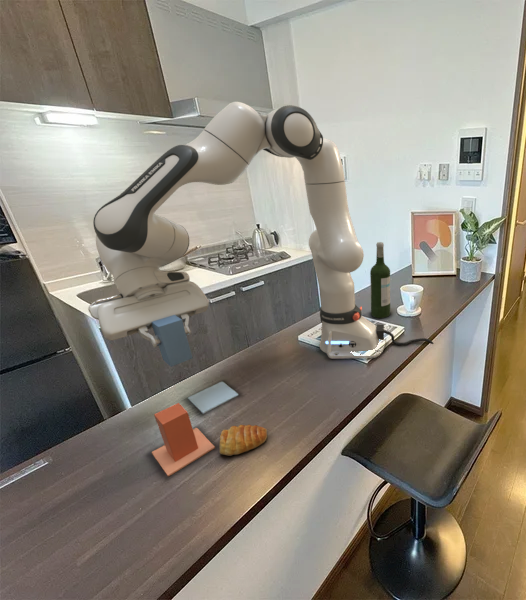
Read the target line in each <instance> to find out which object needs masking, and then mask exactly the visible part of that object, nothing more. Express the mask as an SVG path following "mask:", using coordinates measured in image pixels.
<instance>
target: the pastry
mask: <svg viewBox="0 0 526 600" xmlns="http://www.w3.org/2000/svg"><path fill="white" fill-rule="evenodd" d="M267 438H268V434H267V428H264V427H263V426H260V425H259V426H258V425H257V424H255V425H252V424H247V425H245V424H239V425H238V426H237V425H231V426H230V428H228V429H222V430H221V433H220V436H219V454H220V455H224V456H230V457H231V456H233V455H241V454H243V453H245V452H249V451H250V450H253V449H257V448H258V447H260V446H261V445H262V444H264V443H265V441H267Z"/></svg>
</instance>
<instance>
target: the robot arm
mask: <svg viewBox="0 0 526 600" xmlns="http://www.w3.org/2000/svg"><path fill="white" fill-rule="evenodd" d="M261 151H264V152H267V153H269V154H270V155H273V156H275V157H279V158H287V159H288V158H289V159H291V158H295V159H296V160H297V161H298V163H299V164H300V166H301V169H302V172H303V179H304V186H305V191H306V197H307V204H308V211H309V214H310V216H311V218H312V221H313V224H314V226H315V230H313V231H312V232H311V234H310V235H309V237H308V247H309V250H310V254H311V256H312V262H313V266H314V270H315V275H316V278H317V283H318V289H319V299H320V300H319V301H320V307H319V318H320V323H321V335H320V341H319V345H318V346H319V349H320V351H322V352H323V353H325V354H326V355H327V357H328V358H329V359H333V360H334V359H337V360H338V359H339V360H340V359H342V360H343V359H375V358H377V357H379V356H380V355H381V354H382V353H383V351H384V350H385V348H386V344H385V345H384V346H383V347H382V348H381V349H379V350H375V352H376V353H375V354H374V356H354V355H353V354H352V353H350V352H351V351H352V352H354V351H355V352H356V351H368V350H373V349H375V348H376V347H377V345H378V343H379V339H380V340H384V338H385V334H386V335H388V336H390V338H391V342H392V343H393V344H394V345H396V346H407V345H410V344H412V343H417V342H427V343H429V344H430V345H434V342H433V341H432V340H431V339H429V338H426V337H425V338H424V337H421V338H413V339H409V340H408V341H404V342H399V341H397V340H395V336H394V334H393V333H392V332H391V331H388V330H385V325H384V324H382V323H380V324H377V323H376V324H375V323H373V322H372V321H370V320H369V319H367V318H366V317H364V316H363V315H362V310H363V307H362V305H361V306H360V307H359V306H357V304H356V293H355V282H354V280H353V277H352V275H351V273H353V272H355V271H357V270H358V269H359V268H360V267H361V265H362V264H363V262H364V256H365V254H364V249H363V248H362V245H361V244H360V242H359V240H358V237H357V233H356V230H355V226H354V223H353V220H352V217H351V213H350V209H349V203H348V195H347V194H348V193H347V187H346V178H345V172H344V167H343V166H344V165H343V162H342V159H341V155H340V150H339V148H338V146H337V144H336V143H335V142H334V141H333V140H331V139H329V138H325V137H324V136H323V134H322V132H321V131H320V129H319V128H318V125H317V122H316V121H315V119H314V118H313V117H312V115H311V114H310V113H309V112H308V111H307V110H306V109H304V108H302V107H300V106H297V105H292V104H291V105H290V104H287V105H283V106H280V107H278V108H275V109H273V110H272V111H270V112H268V113H266V114H264V115H263V114H261V113H259V112H258V111H257V110H256V109H254V108H253V107H252V106H250V105H248V104H247V103H244V102H241V101H232V102H230V103H228V104H227V105H226V106H224V107H223V108H222V109H221V110H220V111H219V112H217V114H216V115H214V116H213V117H212V119H211V120H210V121H209V122H208V123H207V125H205V127H204V128H203V129H202V130H201V132H200V133H199V135H197V136H196V137H195V138H194V139H192V140H191V141H189V142H188V143H186V144H177V145H175V146H173V147H171V148H169V149H168V150H167V151H166V152H164V153H163V154H162V155H161V156H160V157H158V158H157V159H156V160H155V161H154V162H153V163H152V164H151V165H150V166H149V167H148V168H147V169H145V170H144V172H143V173H142V174H140V175H139V177H137V178H136V179H135V180H134V181H133V182H132V183H131V184H130V185H129V186H128V187H127V188H126V189H124V191H122V192H121V193H120V194H119V195H117V196H115V197H114V198H113V199H111V200H109V201H107V202H106V203H105V204H103V205H102V206H100V208H99V209H98V210H97V211H96V212H95V214H94V216H93V229H94V232H95V245H96V250H97V252H98V255H99V257H100V259H101V261H102V264H103V265H104V267H105V269H106V270H107V271H108V272H109V274H111V275H112V277H113V283H114V286H115V287H116V289H117V291H118V292H119V294H115V295H111V296H108V297H104V298H97V299H95V300H94V301H93V302H92V303H90V304H89V306H88V308H87V309H88V313H89V314H90V316H91V317H92V318H93V319H95V320H98V323H99V324H98V325H99V328H100V331H101V333H102V335H103V338H104V339H105V340H108V341H111V342H113V341H117V340H120V339H123V338H127V337H129V336H132V335H136V334H138V335H139V337H140V338H142V339H144V340H146V341H148V342H150V343H151V345H152V347H153V348H156V347H159V345H161V340H160V339H159V336H158V335H157V336H155V335H153V334H151V333H149V330H151V329H153V327H152V322H153V321H156V320H159V319H162V318H166V317H169V316H172V315H176V316H177V317H179V318H180V319H182V322H183V326H184V329H185V333H186V336H187V337H188V336H190V335H191V334H192V331H191V329H190V327H189V321H190V317H192V316H195V315H199V314H202V313H205V312H207V310H208V308H209V306H210V301H209V299H208V297H207V295H206V294H205V292H204V291H203V290H202V288H201V287H200V286H199V285H198V284H197V283H195V282H194V281H190V275H189V273H187V272H186V271H167V270H161V269H160V268H161V267H164V266H167V265H170V264H171V263H174V262H176V261H177V260H179V259H182V257H183V256H185V254H186V253H187V252H188V250H189V248H190V236H189V233H188V231H187V229H186V228H185V227H184V226H183V225H181V224H179V223H177V222H174V221H173V220H170V219H168V218H166V217H163V216H160V215H158V214H157V213H155V212H156V211H157V210H159V208H160V207H162V205H163V204H164V203H166V202H167V200H168V199H169V198H170V197H171V196H172V195H173V194H174V193H175V192H176V191H177V190H178V189H179V188H181V187H183V186H184V185H188V184H191V183H203V184H210V185H213V186H214V185H216V186H226V185H231V184H233V183H234V182H236V181H237V180H238V179H239V178H241V176H242V175H243V174H244V173H245V171H246V170H247V168H248V167H249V165H250V164H251V163H252V162H253V160H254V158H255V157H256V156H257V155H258V154H259V153H260V152H261ZM360 355H361V354H360Z"/></svg>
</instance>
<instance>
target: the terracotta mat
mask: <svg viewBox="0 0 526 600" xmlns="http://www.w3.org/2000/svg"><path fill="white" fill-rule="evenodd" d="M193 432H194V435H195V438H196V442H197V445H198V449H196V450H195V451H193V452H191V453H190V454H188V455H186V456H184V457H183V458H181V459H179V460H178V461H176V462H175V461H174V459H173V458H172V457H171V456H170V454H169V453H168V452H167V450H166V447H165V444H164V445H162V446H159V447H158V448H157V449H155V450H153V451H151V454H152V456H153V457H154V458H155V460H156V462H157V463H158V464H159V466H160V467H161V469H162V470H163V472H164V473H165V474H166V476H167V477H168V478H169V477H171V476H172V475H174V474H175V473H177V472H178V471H180V470H182V469H183V468H185V467H187V466H189V465H190V464H192V463H193V462H195V461H196V460H199V459H200V458H201V457H203V456H205V455H206V454H208V453H209V452H211V451H213V450H215V449H216V446H215V445H214V444H213V443H212V442H211V441H210V440H209V439H208V438H207V437H206V436H205V435H204V434H203V432H202V431H201V430H200V429H199V428H198V427H194V428H193Z"/></svg>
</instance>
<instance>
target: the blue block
mask: <svg viewBox="0 0 526 600" xmlns="http://www.w3.org/2000/svg"><path fill="white" fill-rule="evenodd" d="M152 327H153V328H152V330H153V334H154V336H157V335H158V336H159V339H160V340H161V345H159V346H158V349H159V352H160V355H161V358H162V360H163V361H164V362H165V363H166V364H167V365H168V366H169V367H170V368H172V367H174V366H177V365H179V364H182V363H184V362H187V361H190V360H192V359H194V358H193V354H192V350H191V348H190V344H189V340H188V335H187V336H186V333H185V329H184V323H183V322H182V319H180V318H179V317H177V316H176V315H172V316H169V317H166V318H162V319H159V320H156V321H153V322H152Z"/></svg>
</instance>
